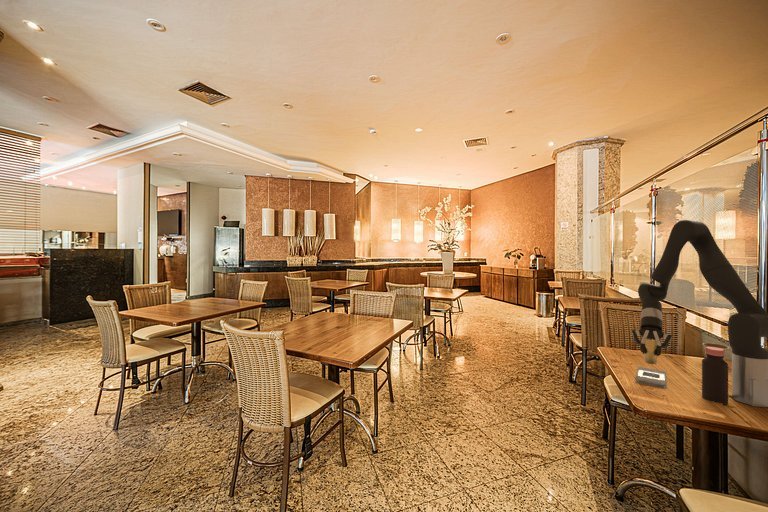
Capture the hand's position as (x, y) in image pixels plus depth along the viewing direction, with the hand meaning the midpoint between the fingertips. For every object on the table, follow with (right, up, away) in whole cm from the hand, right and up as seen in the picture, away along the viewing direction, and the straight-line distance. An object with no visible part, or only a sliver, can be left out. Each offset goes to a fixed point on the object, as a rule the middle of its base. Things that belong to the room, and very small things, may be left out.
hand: (650, 353), depth 135 cm
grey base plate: (+5, -13, +6) cm, 15 cm away
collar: (+1, -12, +2) cm, 12 cm away
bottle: (+11, -13, -16) cm, 23 cm away
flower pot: (+53, -12, +24) cm, 59 cm away
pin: (+1, -4, +2) cm, 5 cm away
